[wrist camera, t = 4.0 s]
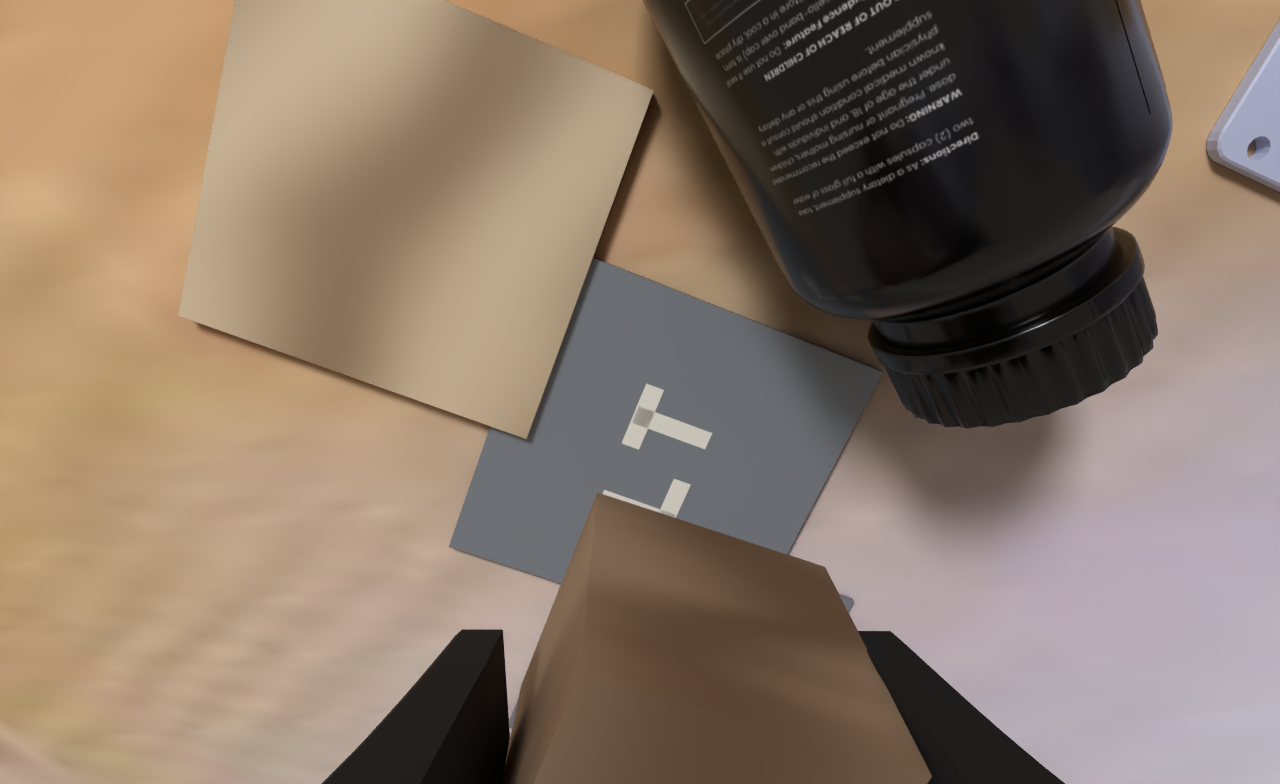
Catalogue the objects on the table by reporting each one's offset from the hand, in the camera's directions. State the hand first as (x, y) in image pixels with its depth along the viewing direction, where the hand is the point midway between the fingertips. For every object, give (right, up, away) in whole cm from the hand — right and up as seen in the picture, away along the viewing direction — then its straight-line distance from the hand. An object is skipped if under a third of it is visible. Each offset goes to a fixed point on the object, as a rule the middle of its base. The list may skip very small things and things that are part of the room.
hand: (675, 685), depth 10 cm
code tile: (0, +3, +8) cm, 8 cm away
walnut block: (0, 0, +1) cm, 1 cm away
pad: (-6, +9, +6) cm, 12 cm away
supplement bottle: (+1, +15, 0) cm, 15 cm away
